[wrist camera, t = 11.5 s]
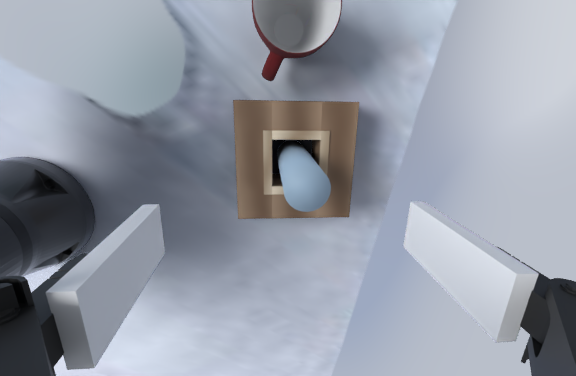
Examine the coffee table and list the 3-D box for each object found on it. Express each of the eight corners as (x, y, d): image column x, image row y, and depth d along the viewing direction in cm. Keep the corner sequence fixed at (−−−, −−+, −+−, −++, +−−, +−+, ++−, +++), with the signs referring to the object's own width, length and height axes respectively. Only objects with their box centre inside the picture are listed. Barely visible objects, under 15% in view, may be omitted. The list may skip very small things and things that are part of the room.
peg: (276, 168, 39) (283, 212, 24) (276, 139, 38) (283, 166, 23) (304, 168, 40) (329, 211, 24) (306, 140, 38) (332, 166, 23)
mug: (302, 95, 37) (315, 93, 27) (242, 73, 35) (233, 64, 26) (330, 7, 34) (356, -29, 24) (266, -19, 32) (266, -68, 23)
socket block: (241, 201, 40) (238, 219, 34) (238, 100, 36) (233, 100, 30) (337, 200, 41) (349, 217, 36) (344, 101, 37) (359, 102, 31)
